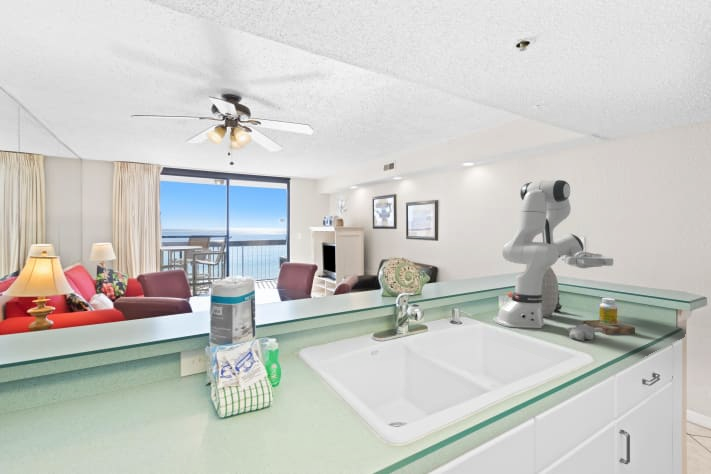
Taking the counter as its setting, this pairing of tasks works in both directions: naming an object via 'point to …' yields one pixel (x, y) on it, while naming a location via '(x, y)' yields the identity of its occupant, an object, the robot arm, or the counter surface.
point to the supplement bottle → (608, 312)
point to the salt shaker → (558, 306)
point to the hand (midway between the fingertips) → (596, 262)
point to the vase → (549, 292)
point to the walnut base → (611, 327)
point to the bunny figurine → (583, 332)
